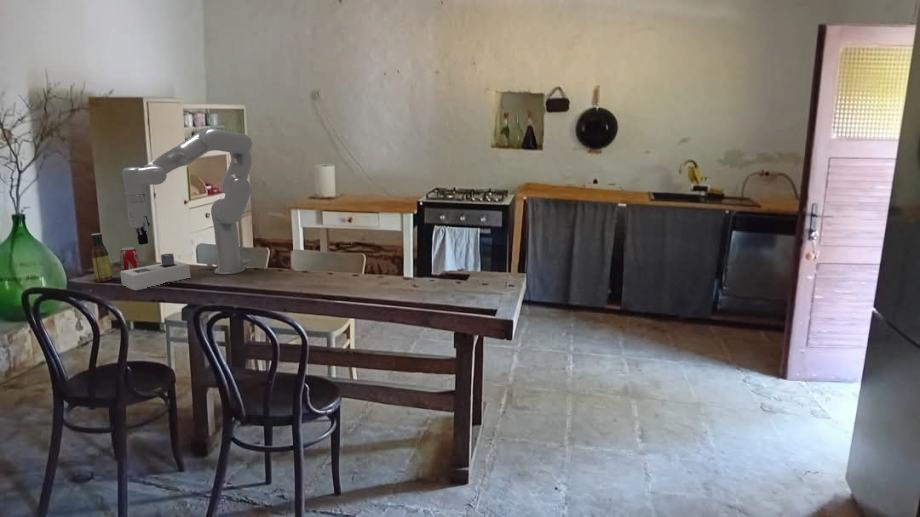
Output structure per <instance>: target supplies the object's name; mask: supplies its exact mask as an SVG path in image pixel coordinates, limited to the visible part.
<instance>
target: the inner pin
mask: <svg viewBox="0 0 920 517" xmlns="http://www.w3.org/2000/svg"><path fill="white" fill-rule="evenodd" d="M160 259H161V263H162V267H164V268H166V267H171V266H175V264H174V261H175V256H174V253H163V254H161V255H160Z"/></svg>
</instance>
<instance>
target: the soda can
mask: <svg viewBox="0 0 920 517" xmlns="http://www.w3.org/2000/svg"><path fill="white" fill-rule="evenodd" d="M119 260H120V266H121V271H124V270H130V269H135V268H140V267H141V265H140V258H139V251H138V250H137V248H136V247H135V246H126V247H121V248H120V252H119Z"/></svg>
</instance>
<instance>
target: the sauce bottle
mask: <svg viewBox="0 0 920 517" xmlns="http://www.w3.org/2000/svg"><path fill="white" fill-rule="evenodd" d="M90 239H91V241H92V248H91V251H90V252H91V253H90V254H91V260H92V265H93V270H94V271H93V272H94V278H95V280H96V282H99V283H103V282H109V281H111V280H113V271H112V267H111V260H110V256H109V252H108V250H107V248H106V246H105V244H104V242H103V235H102V233H101V232H95V233H91V234H90Z"/></svg>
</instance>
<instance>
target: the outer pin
mask: <svg viewBox="0 0 920 517" xmlns="http://www.w3.org/2000/svg"><path fill="white" fill-rule="evenodd" d="M146 271H148V269H141V270H136V271H135V272H136V273H141V272H146Z"/></svg>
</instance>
